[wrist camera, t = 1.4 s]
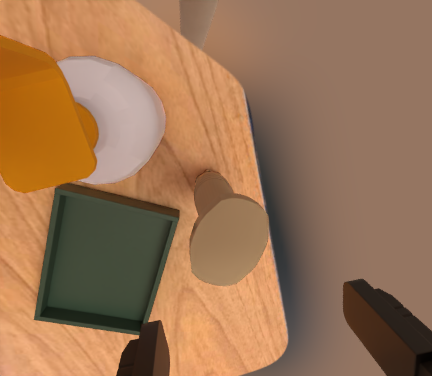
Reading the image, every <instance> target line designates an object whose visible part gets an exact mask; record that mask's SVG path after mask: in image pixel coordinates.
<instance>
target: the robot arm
mask: <svg viewBox="0 0 432 376" xmlns="http://www.w3.org/2000/svg"><path fill="white" fill-rule="evenodd" d="M343 312H344V316H345V319H346V321H347V323H348V325H349V326H350V328H351V329H352V330H353V331H354V333H355V334H356V335H357V337H358V338H359V339H360V341H361V342H362V343H363V345H364V346H365V347H366V349H367V350H368V351H369V353H370V354H371V355H372V357H373V358H374V359H375V361H376V362H377V363H378V365H379V366H380V367H381V369H382V370H383V371H384V373H385V374H386V375H387V376H432V331H431V330H430V329H429V328H428V327H427V326H425V325H424V324H423V323H422V322H421V321H420V320H419V319H418V318H416V317H415V316H413V315H412V313H411V312H410V311H409V310H408V309H406V308H404V307H403V305H402V304H401V303H400V302H399V301H398V300H396V299H395V298H394V297H393V296H392V295H390V294H388V293H386V292H384V291H383V290H381V289H373V287H371V286H370V285H369V284H368V283H367V282H366V281H365V280H364V279H358V280H353V281H348V282H345V283H344V285H343ZM169 371H170V355H169V348H168V344H167V340H166V337H165V333H164V329H163V325H162V322H161V320H158V321H153V322H148V323H144V324H142V326H141V330H140V335H139V339H135V340H130V341H129V343H128V345H127V346H126V348H125V349H124V351H123V352H122V355H121V359H120V363H119V369H118V371H117V375H116V376H169Z"/></svg>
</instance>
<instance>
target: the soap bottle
mask: <svg viewBox="0 0 432 376" xmlns="http://www.w3.org/2000/svg"><path fill="white" fill-rule="evenodd" d="M165 124H166V115H165V111H164V107H163V104H162V101H161V99H160V98H159V96H158V95H157V93H156V92H155V91H154V89H153V88H152V87H151V86H150V85H148V84H147V83H146V82H144V81H143V80H142V79H140V78H139V77H138V76H136V75H135V74H133V73H131V72H130V71H128V70H127V69H125V68H124V67H122V66H121V65H119V64H117V63H114V62H111V61H108V60H105V59H102V58H99V57H96V56H75V57H68V58H66V59H63V60H61V61H59V62H57V63H56V62H55V60H54V59H53V58H52V57H50V56H49V55H48V54H46V53H45V52H43V51H40V50H38V49H35V48H32V47H30V46H27V45H25V44H22V43H20V42H17V41H14V40H12V39H9V38H7V37H4V36H2V35H0V174H1V176H2V178H3V180H4V182H5V184H6V185H8V186H9V187H10V188H12V189H13V190H14V191H18V192H22V193H28V192H32V191H36V190H40V189H44V188H48V187H53V186H57V185H61V184H65V183H69V182H73V181H82V182H86V183H90V184H94V185H97V184H110V183H117V182H119V181H122V180H124V179H126V178H128V177H131V176H133V175H135V174H136V173H137V172H138V171H139V170H140V169H141V168H142V167H143V166H144V165H145V164H146V163H147V162H148V161H149V160H150V158H151V156H152V155H153V153H154V152H155V150H156V149H157V147H158V145H159V144H160V141H161V139H162V137H163V135H164V133H165Z"/></svg>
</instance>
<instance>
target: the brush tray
mask: <svg viewBox="0 0 432 376" xmlns="http://www.w3.org/2000/svg"><path fill="white" fill-rule="evenodd" d="M178 220H179V210H175V209H171V208H167V207H163V206H159V205H155V204H151V203H147V202H143V201H139V200H135V199H131V198H127V197H123V196H119V195H115V194H111V193H107V192H103V191H99V190H95V189H90V188H86V187H82V186H78V185H74V184H70V183H65V184H61V185H60V186H58V187H56V188H55V194H54V200H53V206H52V213H51V219H50V225H49V231H48V237H47V243H46V249H45V255H44V261H43V268H42V274H41V280H40V286H39V292H38V298H37V304H36V310H35V316H34V320H38V321H45V322H52V323H59V324H66V325H72V326H79V327H86V328H93V329H100V330H106V331H113V332H120V333H127V334H133V335H140V330H141V326H142V324H144V323H148V320H149V317H150V314H151V310H152V307H153V304H154V300H155V297H156V294H157V290H158V287H159V284H160V280H161V277H162V274H163V270H164V267H165V263H166V260H167V257H168V253H169V250H170V247H171V243H172V240H173V237H174V233H175V230H176V227H177V223H178Z"/></svg>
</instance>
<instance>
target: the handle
mask: <svg viewBox="0 0 432 376" xmlns="http://www.w3.org/2000/svg"><path fill="white" fill-rule="evenodd" d="M195 183H196V184H195V188H194V201H195V206H196V209H197V212H198V218H197V220H196V222H195V223H194V226H193V230H192V233H191V236H190V261H191V269H192V273H193V274H194V275H195V276H196V277H197V278H198V279H200V280H202V281H204V282H206V283H209V284H212V285H217V286H230V285H234V284H237V283H238V282H239V281H240V280H242V279H243V278H244V277H245V276H246V275H247V274H249V273H250V272H251V271H252V270H253V269H254V268H255V267H256V265H257V263H258V262H259V260H260V258H261V256H262V254H263V252H264V250H265V247H266V245H267V242H268V215H267V213H266V212H265V211H264V209H263V208H262V207H261V206H260V205H259V204H258V203H257V202H256V201H254V200H253V199H251V198H249V197H247V196H244V195H241V194H235V193H233V190H232V188H231V186H230V185H229V183H228V182H227V180H226V179H225V178H224V177H223V176H221V174H219V173H218V172H217V173H215V172H212V171H211V170H206V171H205V172H204V173H203V174H202V175H200V176H198V177H197V178H196V181H195Z"/></svg>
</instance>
